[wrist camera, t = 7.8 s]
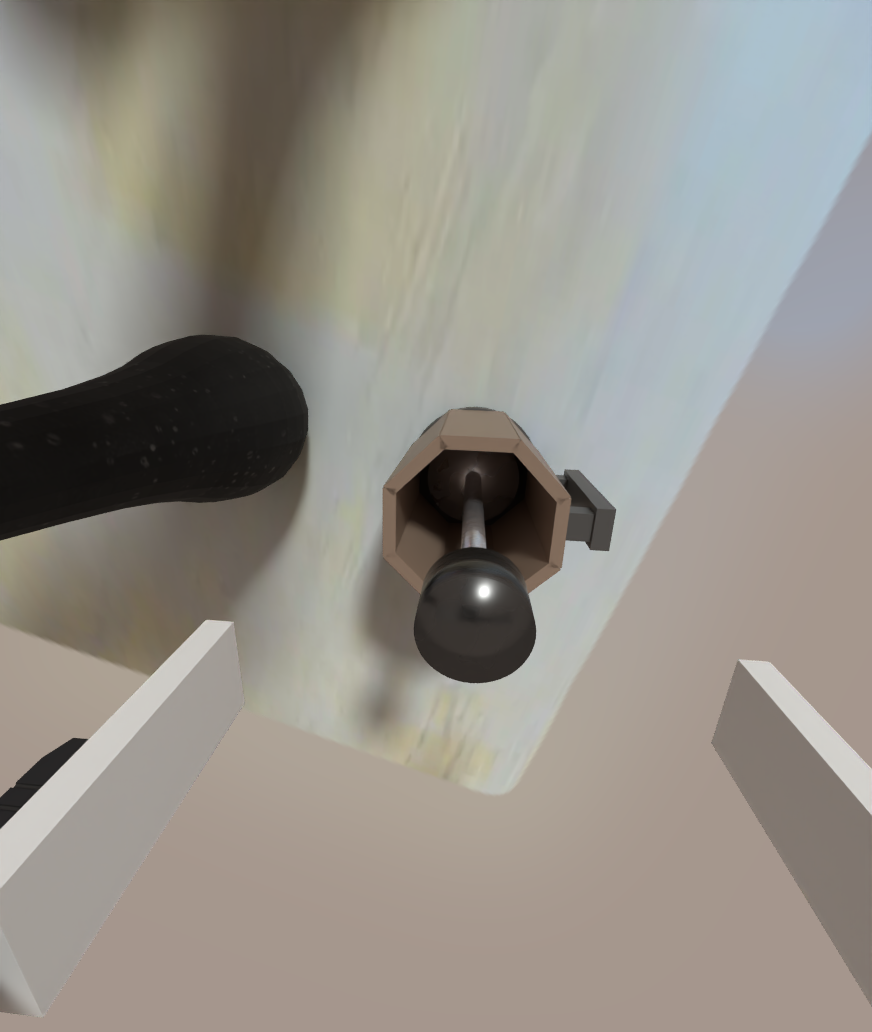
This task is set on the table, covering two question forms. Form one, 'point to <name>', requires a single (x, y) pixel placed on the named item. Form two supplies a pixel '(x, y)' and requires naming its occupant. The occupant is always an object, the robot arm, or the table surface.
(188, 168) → the table surface
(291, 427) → the bottle
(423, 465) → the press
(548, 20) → the table surface
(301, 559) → the table surface
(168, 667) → the robot arm
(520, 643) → the plunger
